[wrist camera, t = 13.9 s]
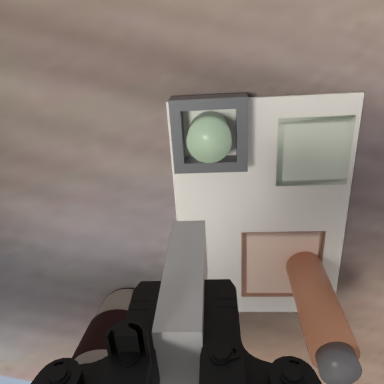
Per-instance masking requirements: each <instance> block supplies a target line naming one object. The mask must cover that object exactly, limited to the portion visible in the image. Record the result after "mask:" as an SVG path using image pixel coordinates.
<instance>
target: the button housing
mask: <svg viewBox="0 0 384 384" xmlns="http://www.w3.org/2000/svg"><path fill="white" fill-rule="evenodd" d="M168 105H169V116H170V127H171V139H172V150H173V161H174V172H175V174H186V173H219V172H248V95H247V93H229V94H209V95H189V96H171V97H170V99H169V100H168ZM223 109H236V155H226V156H225V157H224V158H223V159H222V160H220V161H218V162H214V163H204V162H201V161H198V160H197V159H195V158H194V157H193V156H192V157H186V151H185V137H184V123H183V111H201V110H223Z"/></svg>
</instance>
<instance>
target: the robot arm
mask: <svg viewBox="0 0 384 384" xmlns="http://www.w3.org/2000/svg"><path fill="white" fill-rule="evenodd" d="M207 274H208V267H207V248H206V229H205V220H199V221H173V223H172V228H171V233H170V239H169V244H168V249H167V254H166V260H165V265H164V270H163V275H162V281H142V282H140V283H139V284H138V286H137V287H136V288H135V289H134V290H133V293H132V297H131V300H130V301H131V302H130V304H129V307H128V311H127V314H126V318H125V320H123V321H120V322H118V323H116V324H114V325H112V326H111V327H110V328H109V329H108V330H107V331H106V333H105V335H104V340H105V344H106V349H107V353H108V356H106V357H104V358H103V359H100V360H98V361H95V362H92V363H88V364H85V365H81V366H80V364H79V363H78V361H76V360H74V359H72V358H61V359H58V360H54V361H53V362H51V363H49V364H48V365H46V366H45V367H44V368H43V369H42V370H41V371H40V372H39V373H38V375H37V376H36V377H35V379H34V380H33V381H32V383H31V384H322V383H321V381H320V380H319V378H318V376H317V375H316V373H315V371H314V370H313V369H312V367H311V366H310V365H309V364H308V363H306V362H305V361H303V360H302V359H300V358H296V357H293V356H283V357H281V358H278V359H276V360H275V361H274V362H273V363H270V362H266V361H263V360H260V359H258V358H255V357H254V356H252V355H251V354H249V353H248V352H247V351H246V350H245V348H244V346H243V345H242V341H241V335H240V324H239V313H238V303H237V292H236V287H235V286H234V284H233V283H232V281H231V280H230V279H207Z"/></svg>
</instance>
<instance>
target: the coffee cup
mask: <svg viewBox="0 0 384 384" xmlns="http://www.w3.org/2000/svg"><path fill="white" fill-rule="evenodd" d="M133 290H134V289H121V290H117V291H114V292H112V293H111V294H109V295H108V296H107V297H106V298H105V300H104V301H103V303H102V305H101V307H100V309H99V311H98V313H97V315H96V317H95V318H94V319H93V320H92V321H91V323H90V324H89V326H88V328H87V330H86V332H85V334H84V336H83V338H82V340H81V341H80V343H79V345H78V347H77V349H76V351H75V353H74V355H73V357H72V359H74V360H76V361H78V363H79V364H80V366H81V365H85V364H88V363H92V362H95V361H98V360H100V359H103V358H104V357H106V356H108V353H107V349H106V344H105V340H104V335H105V333H106V331H107V330H108V329H109V328H110V327H111V326H112V325H114V324H116V323H118V322H120V321H123V320H125V318H126V314H127V311H128V307H129V304H130V302H131V301H130V300H131V297H132V293H133Z"/></svg>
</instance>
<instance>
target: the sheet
mask: <svg viewBox="0 0 384 384" xmlns="http://www.w3.org/2000/svg"><path fill="white" fill-rule="evenodd" d="M363 99H364V92H345V93H325V94H304V95H284V96H263V97H248V172H219V173H186V174H175V172H174V161H173V150H172V139H171V127H170V116H169V105H168V101H166V107H167V118H168V129H169V140H170V150H171V161H172V172H173V183H174V194H175V205H176V216H177V221H199V220H205V229H206V248H207V267H208V274H207V279H230V280H231V281H232V283H233V284H234V286H235V287H236V292H237V303H238V312H298V311H297V308H296V304H295V300H294V297H293V293H292V289H291V286H290V282H289V278H288V275H287V271H286V263H287V261H288V259H289V258H290V257H291V256H293V255H294V254H296V253H299V252H312V253H314V254H316V255H317V256H319V258H320V259H321V261H322V263H323V266H324V268H325V270H326V273H327V275H328V277H329V280H330V282H331V284H332V287H333V289H334V291H335V294H336V290H337V283H338V276H339V269H340V262H341V254H342V247H343V240H344V233H345V226H346V219H347V212H348V205H349V198H350V191H351V184H352V177H353V170H354V163H355V156H356V149H357V142H358V135H359V128H360V120H361V113H362V106H363ZM206 111H214V112H217V113H220V114H221V115H223V116H224V117H225V118H226V119H227V121H228V122H229V125H230V129H231V138H232V144H231V148H230V151H229V152H228V154H227V155H236V109H223V110H201V111H183V123H184V137H185V151H186V157H192V155H191V154H190V152H189V150H188V148H187V143H186V139H187V135H188V131H189V127H190V124H191V122H192V120H193V119H194V118H195V117H196V116H197V115H198V114H200V113H202V112H206Z"/></svg>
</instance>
